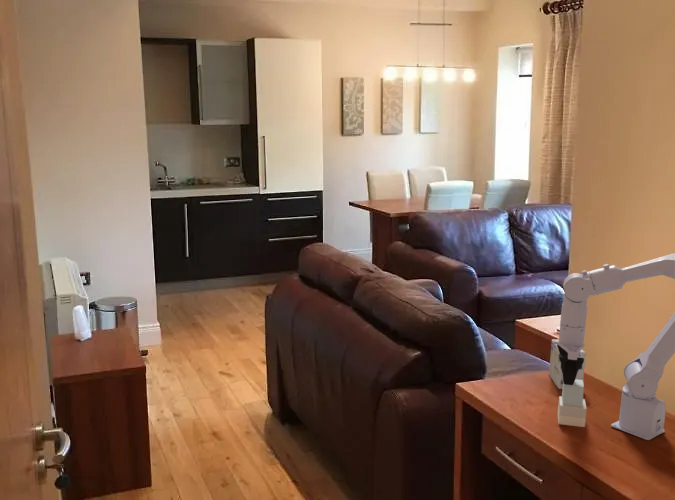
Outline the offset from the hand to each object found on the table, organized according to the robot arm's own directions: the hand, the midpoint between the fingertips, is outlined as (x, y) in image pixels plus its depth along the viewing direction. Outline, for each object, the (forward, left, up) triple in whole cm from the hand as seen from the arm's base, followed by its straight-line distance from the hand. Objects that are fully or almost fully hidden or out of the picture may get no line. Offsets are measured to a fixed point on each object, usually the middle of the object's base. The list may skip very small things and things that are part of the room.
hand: (567, 378), depth 178 cm
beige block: (-1, -1, -8) cm, 9 cm away
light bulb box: (+14, -21, -11) cm, 28 cm away
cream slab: (-1, -1, -11) cm, 11 cm away
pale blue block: (-1, -1, -6) cm, 6 cm away
